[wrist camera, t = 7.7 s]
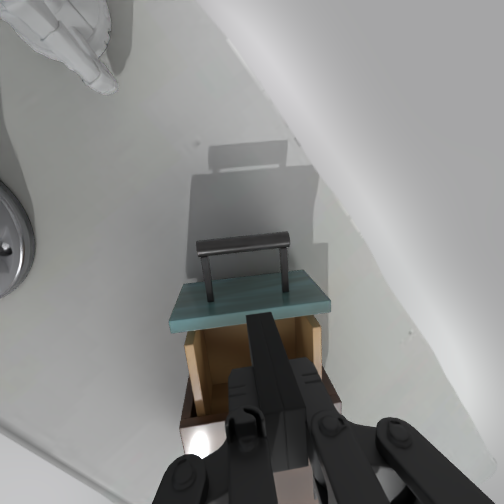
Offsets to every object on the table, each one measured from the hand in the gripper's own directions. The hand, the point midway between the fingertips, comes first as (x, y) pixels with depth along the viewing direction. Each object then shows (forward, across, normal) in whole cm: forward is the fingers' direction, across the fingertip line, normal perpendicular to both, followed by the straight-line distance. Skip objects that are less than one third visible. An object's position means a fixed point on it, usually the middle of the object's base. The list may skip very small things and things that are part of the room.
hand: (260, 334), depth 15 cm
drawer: (+14, 0, -6) cm, 15 cm away
